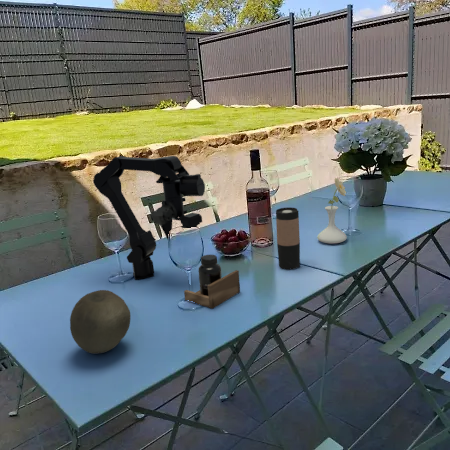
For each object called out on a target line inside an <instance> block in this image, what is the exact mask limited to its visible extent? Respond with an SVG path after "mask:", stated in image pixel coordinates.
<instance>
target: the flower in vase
mask: <svg viewBox="0 0 450 450" xmlns="http://www.w3.org/2000/svg"><path fill="white" fill-rule="evenodd" d="M334 185H335V187H336V189H335V191H334V193H333V197H332V200H331V199H329V200H328V203H327V204H330V205H328V206H325V207H324V209H325V210H326V212H327V215H328V223H327V227H326V228H324V229H323V230H322V231H321V232H320V231H319V233H318V235H317V237H316V239H317V240H318V241H319V242H321V243H325V244H339V243H342V242H344V241H345V242H346V240H347V238H348V235H346V233H345V232H343V230H341V229H340V228H338V227H337V226H336V223H335V219H336V212H337V210H338V209H339V207H338V206H337V205H336V206H335V205H334V203H338V202H339V200H340V199H339V198H338V196H337V195H336V192H337V191H338V193H339V194H340V195H341V196H343V197H346V194H347V192H346V190H345V189H346V187H345V186H344V184H343V182H342V180H340V178H338V177H334ZM335 195H336V196H335Z"/></svg>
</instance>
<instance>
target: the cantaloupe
mask: <svg viewBox="0 0 450 450" xmlns="http://www.w3.org/2000/svg"><path fill="white" fill-rule="evenodd" d="M130 310H131V309H130V308H129V307H128V305H127V303H126V302H125V300H124V299H123V298H122V297H121V296H119V295H118V294H116V293H114V292H113V291H110V290H107V289H98V290H95V291H92V292H89V293H87V294H85V295H83V296H82V297H81V298H79V300H78V301H77V302H76V303H75V304H74V306H73V308H72V311H71V314H70V317H69V322H70V323H69V324H70V325H69V328H70V329H69V330H70V334H71V336H72V339H73V340H74V342H75V343H76V344H77V345H78V347H79V348H81V349H82V350H83V351H85V352H86V353H90V354H95V355H96V354H104V353H107V352H109V351H111V350H113V349H114V348H116V347H117V345H119V344H120V342H121V341H122V339H123V338H125V336H126V334H127V333H128V331H129V328H130V325H131V311H130Z"/></svg>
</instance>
